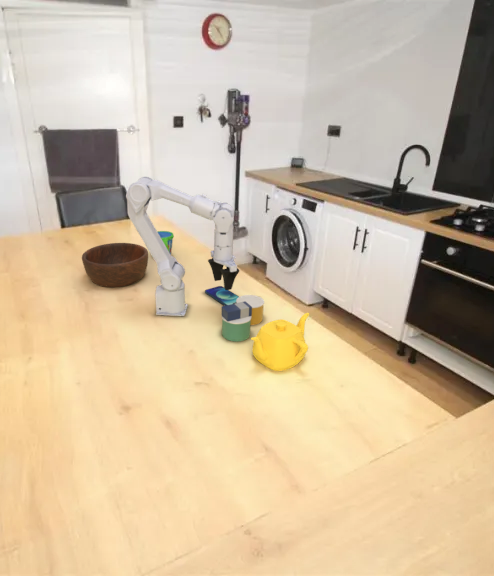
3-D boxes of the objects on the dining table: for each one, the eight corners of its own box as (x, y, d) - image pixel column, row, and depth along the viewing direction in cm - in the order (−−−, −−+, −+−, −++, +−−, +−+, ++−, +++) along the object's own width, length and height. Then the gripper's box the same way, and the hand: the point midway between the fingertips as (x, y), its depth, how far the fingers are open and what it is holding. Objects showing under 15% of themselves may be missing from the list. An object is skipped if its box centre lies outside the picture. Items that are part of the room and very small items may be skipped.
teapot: (274, 390, 100) (277, 353, 95) (232, 360, 111) (233, 326, 106) (330, 358, 112) (336, 324, 107) (288, 334, 123) (291, 302, 118)
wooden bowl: (71, 284, 155) (67, 259, 151) (109, 262, 176) (106, 239, 172) (127, 295, 147) (125, 269, 142) (160, 270, 168) (159, 246, 163)
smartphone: (220, 285, 152) (245, 300, 141) (220, 287, 153) (245, 302, 141) (203, 290, 149) (227, 306, 137) (203, 292, 149) (227, 308, 137)
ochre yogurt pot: (235, 324, 128) (235, 306, 125) (236, 311, 136) (236, 294, 133) (263, 325, 127) (264, 308, 125) (262, 312, 135) (263, 295, 133)
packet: (227, 321, 117) (227, 312, 116) (221, 315, 121) (221, 306, 119) (251, 315, 120) (252, 306, 119) (245, 310, 124) (245, 301, 122)
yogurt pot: (220, 341, 120) (220, 322, 117) (222, 325, 127) (222, 308, 125) (250, 342, 119) (251, 324, 116) (250, 327, 127) (251, 309, 124)
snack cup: (149, 251, 189) (147, 229, 184) (171, 249, 191) (170, 228, 186) (152, 263, 175) (151, 240, 171) (176, 261, 177) (176, 238, 173)
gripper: (246, 249, 120) (244, 291, 126) (224, 235, 132) (224, 274, 138) (225, 253, 118) (224, 295, 123) (204, 238, 129) (205, 277, 135)
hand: (222, 284), depth 130 cm, fingers open, 7 cm apart
